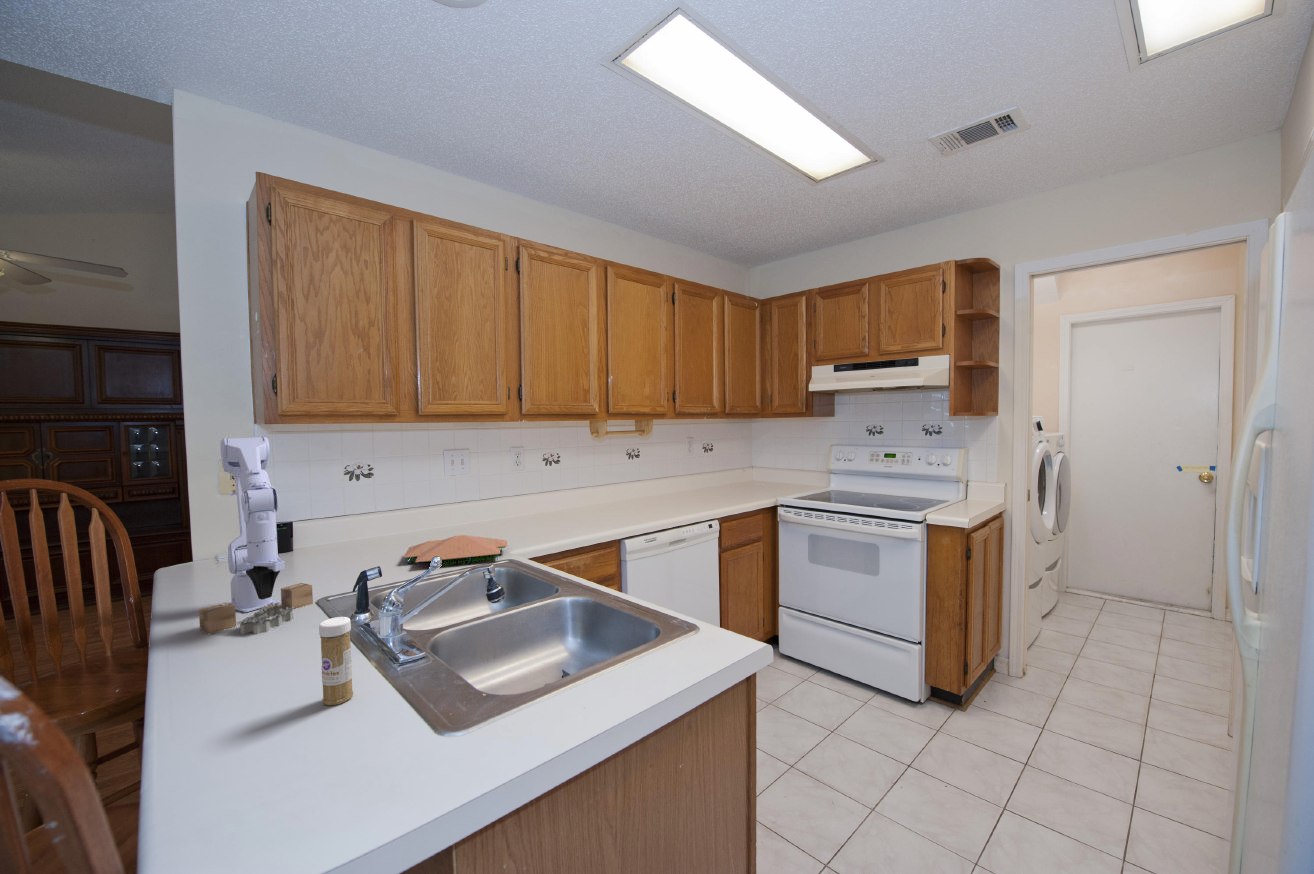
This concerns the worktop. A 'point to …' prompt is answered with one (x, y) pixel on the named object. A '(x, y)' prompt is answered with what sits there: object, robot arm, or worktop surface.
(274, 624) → the egg carton
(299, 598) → the numbered block one
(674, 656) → the worktop surface
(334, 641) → the sprinkles bottle
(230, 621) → the numbered block seven
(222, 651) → the worktop surface
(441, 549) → the house
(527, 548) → the worktop surface
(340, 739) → the worktop surface
